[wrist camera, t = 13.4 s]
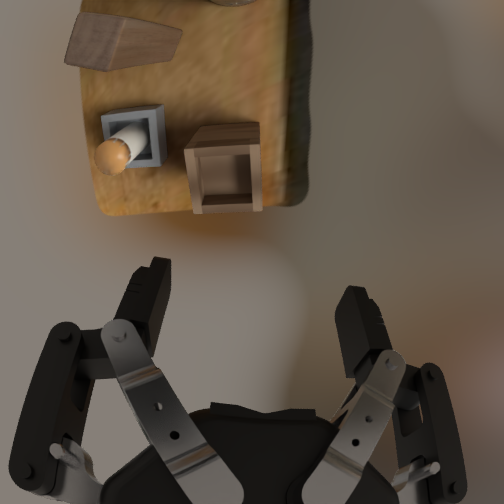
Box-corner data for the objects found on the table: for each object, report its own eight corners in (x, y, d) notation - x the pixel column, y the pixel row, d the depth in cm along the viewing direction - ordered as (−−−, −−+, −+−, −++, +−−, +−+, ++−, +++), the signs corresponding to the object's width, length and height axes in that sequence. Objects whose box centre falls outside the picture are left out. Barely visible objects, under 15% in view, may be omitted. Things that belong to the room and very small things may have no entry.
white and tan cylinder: (119, 128, 36) (88, 150, 28) (144, 116, 35) (116, 135, 28) (131, 153, 38) (104, 180, 31) (156, 143, 37) (131, 167, 30)
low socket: (112, 110, 35) (100, 115, 32) (163, 104, 35) (155, 109, 32) (118, 160, 39) (108, 169, 37) (167, 157, 39) (160, 166, 37)
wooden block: (111, 47, 29) (23, 59, 15) (122, 17, 27) (36, 9, 12) (171, 61, 31) (107, 73, 17) (184, 30, 29) (126, 17, 14)
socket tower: (200, 126, 37) (183, 149, 29) (259, 122, 36) (259, 144, 28) (206, 178, 41) (193, 214, 33) (261, 175, 41) (262, 211, 33)
